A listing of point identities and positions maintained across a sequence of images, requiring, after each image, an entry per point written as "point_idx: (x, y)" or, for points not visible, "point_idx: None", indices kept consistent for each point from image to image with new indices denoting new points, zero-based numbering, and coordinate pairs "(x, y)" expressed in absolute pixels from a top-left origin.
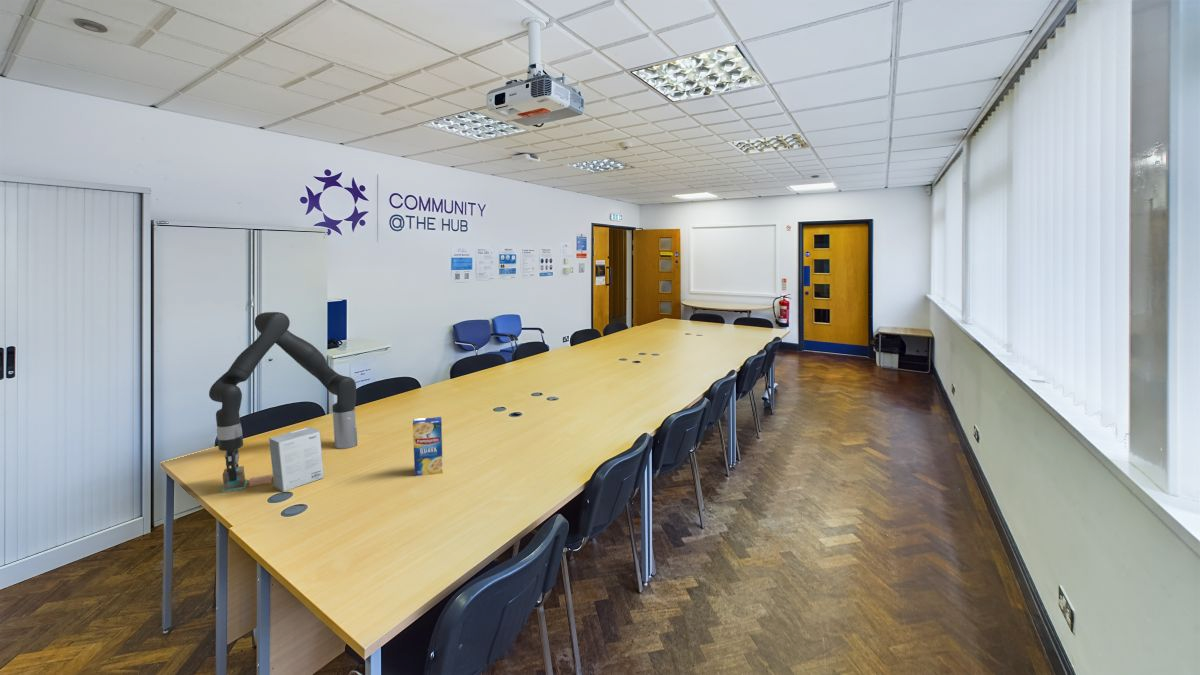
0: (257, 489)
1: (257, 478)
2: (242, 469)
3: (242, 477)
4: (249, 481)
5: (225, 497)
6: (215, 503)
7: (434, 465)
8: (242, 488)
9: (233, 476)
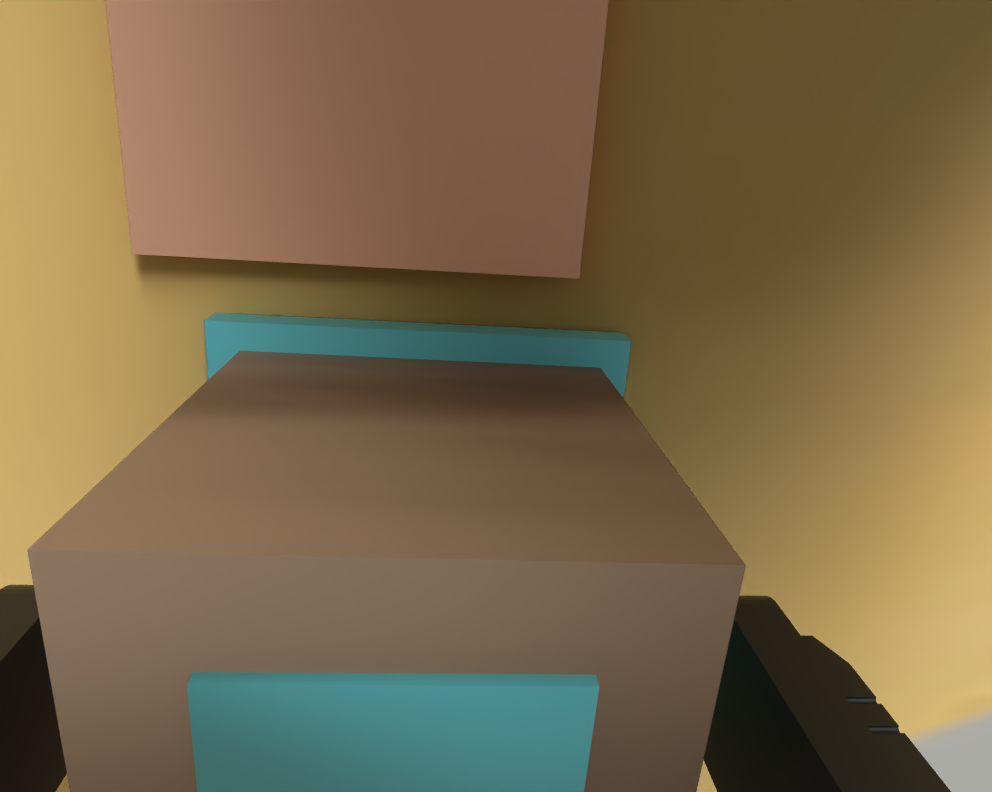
0: (849, 106)
1: (241, 86)
2: (490, 572)
3: (660, 465)
4: (359, 265)
5: (830, 600)
6: (962, 695)
7: None
8: (615, 382)
9: (886, 745)
